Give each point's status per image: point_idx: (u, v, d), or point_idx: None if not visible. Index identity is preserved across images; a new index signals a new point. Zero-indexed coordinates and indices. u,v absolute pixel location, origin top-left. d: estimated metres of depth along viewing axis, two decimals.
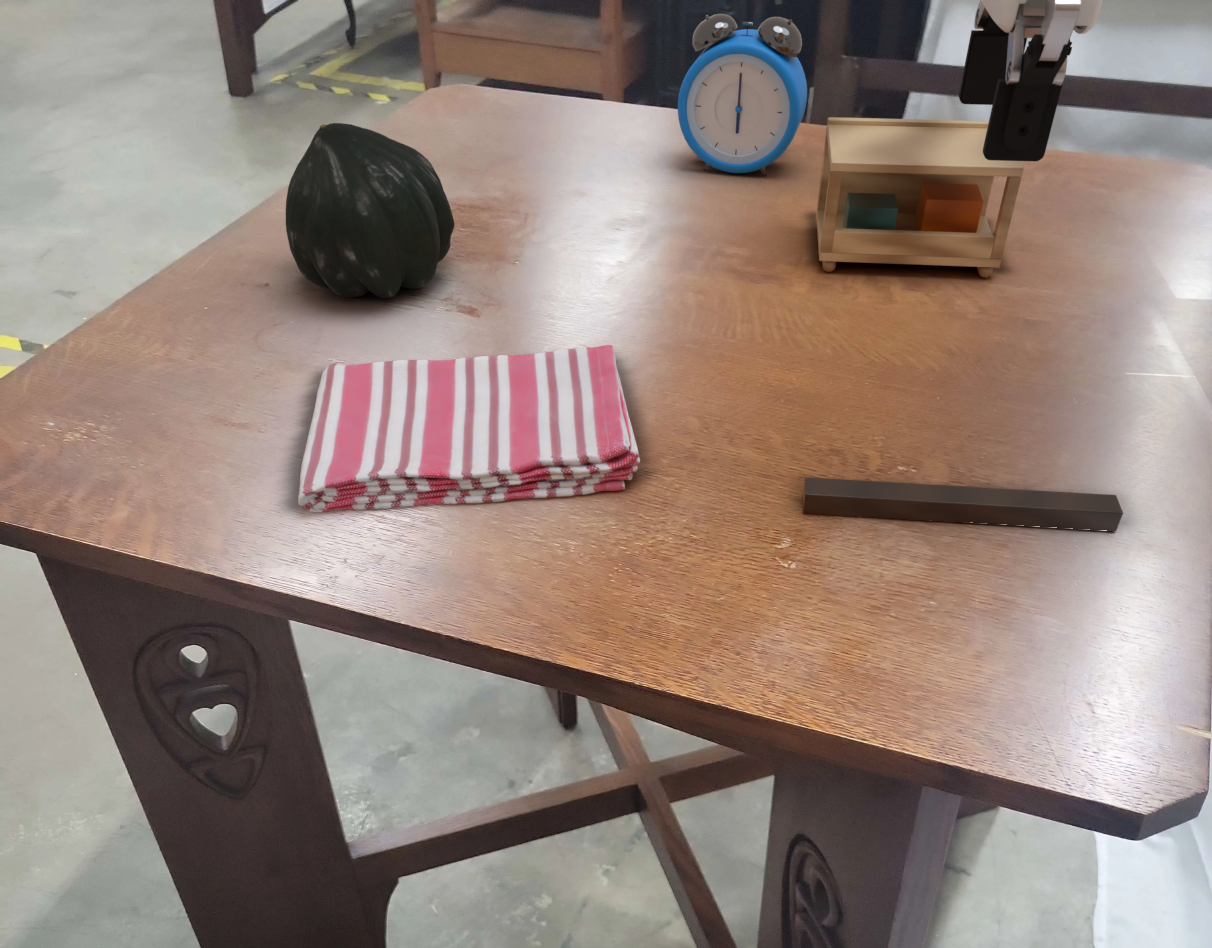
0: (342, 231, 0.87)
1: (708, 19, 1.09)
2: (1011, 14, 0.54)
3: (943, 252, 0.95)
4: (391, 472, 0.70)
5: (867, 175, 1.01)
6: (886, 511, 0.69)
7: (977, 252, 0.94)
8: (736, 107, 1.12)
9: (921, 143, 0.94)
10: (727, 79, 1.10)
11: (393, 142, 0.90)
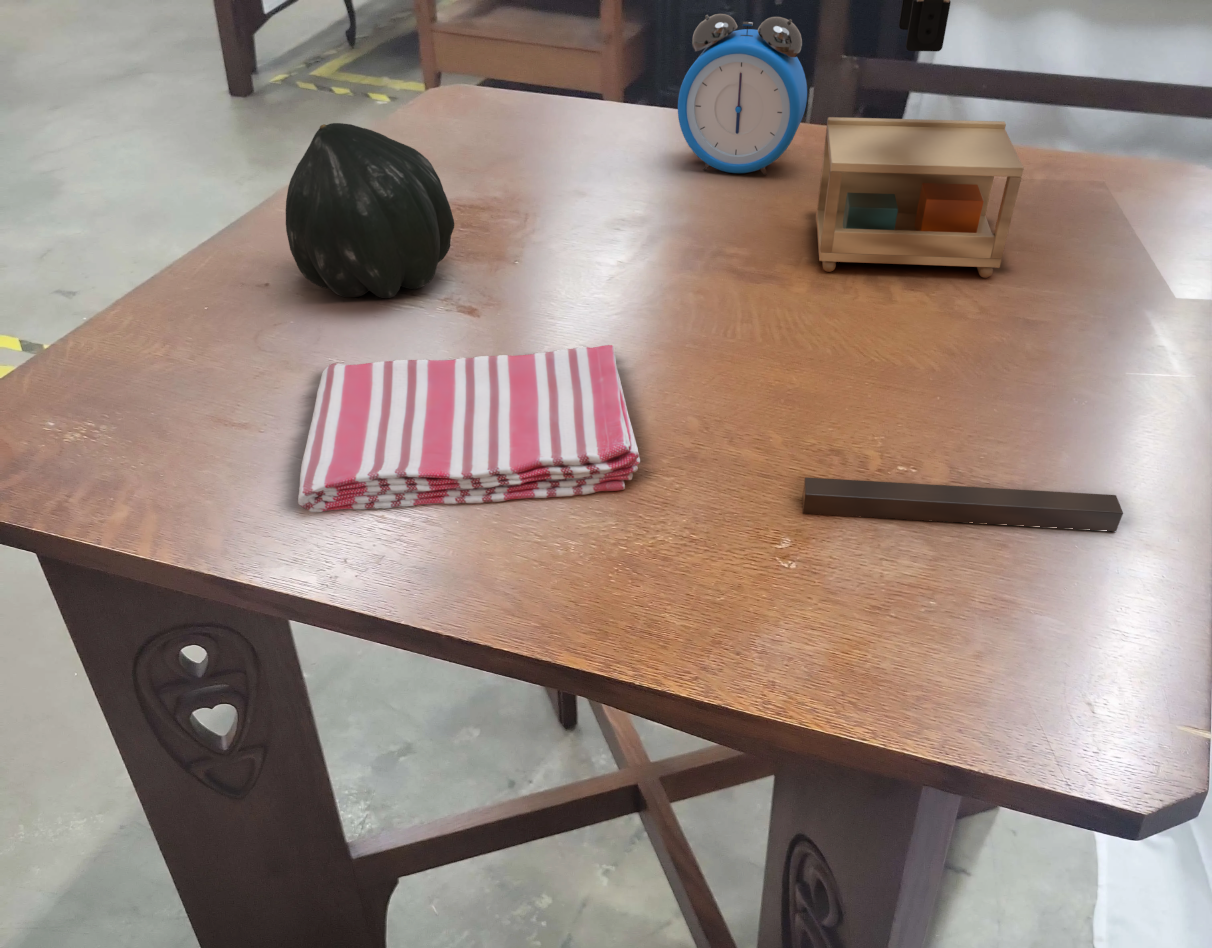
0: (342, 231, 0.87)
1: (708, 19, 1.09)
2: None
3: (943, 252, 0.95)
4: (391, 472, 0.70)
5: (867, 175, 1.01)
6: (886, 511, 0.69)
7: (977, 252, 0.94)
8: (736, 107, 1.12)
9: (921, 143, 0.94)
10: (727, 79, 1.10)
11: (393, 142, 0.90)
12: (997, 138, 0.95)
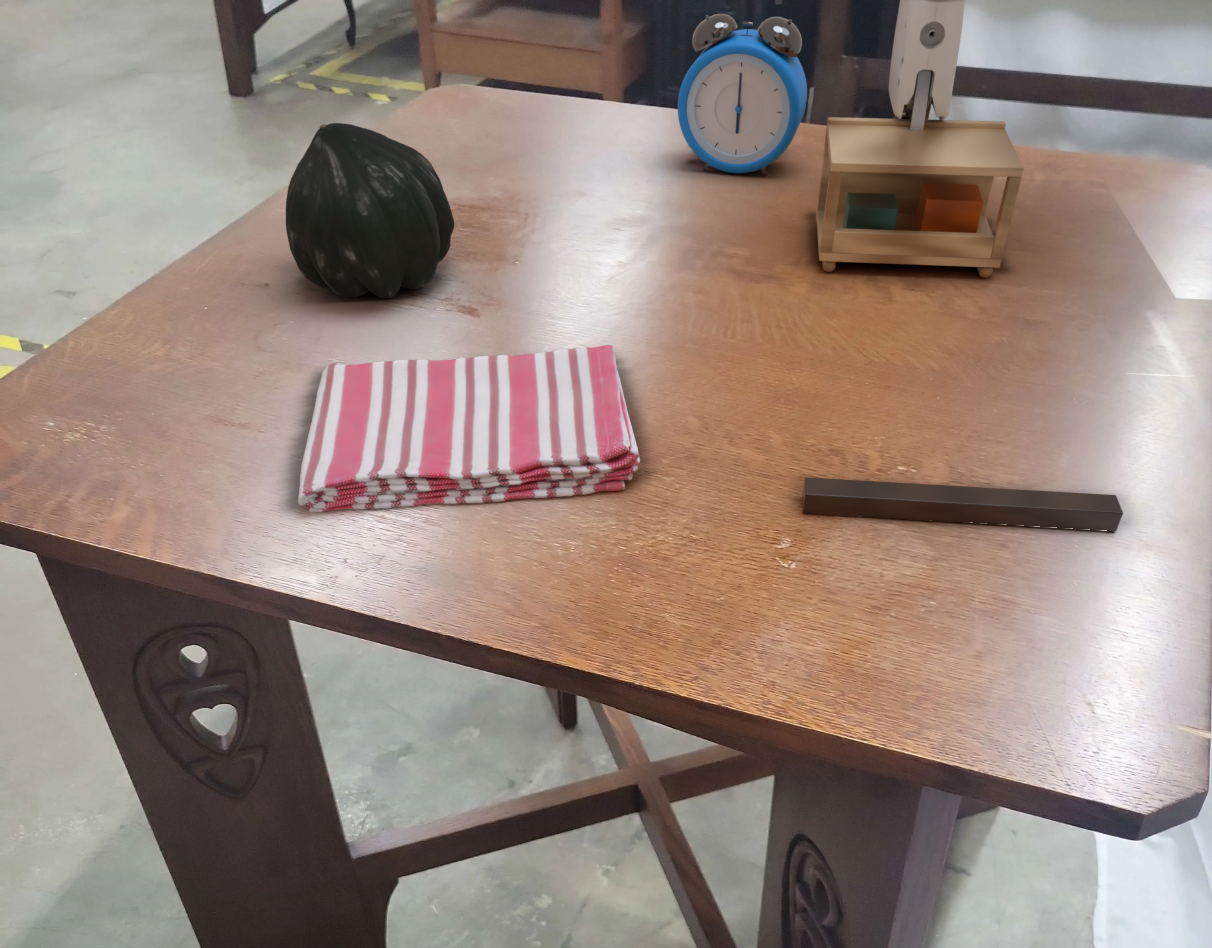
0: (342, 231, 0.87)
1: (708, 19, 1.09)
2: (900, 110, 0.96)
3: (943, 252, 0.95)
4: (391, 472, 0.70)
5: (867, 175, 1.01)
6: (886, 511, 0.69)
7: (977, 252, 0.94)
8: (736, 107, 1.12)
9: (921, 143, 0.94)
10: (727, 79, 1.10)
11: (393, 142, 0.90)
12: (997, 138, 0.95)
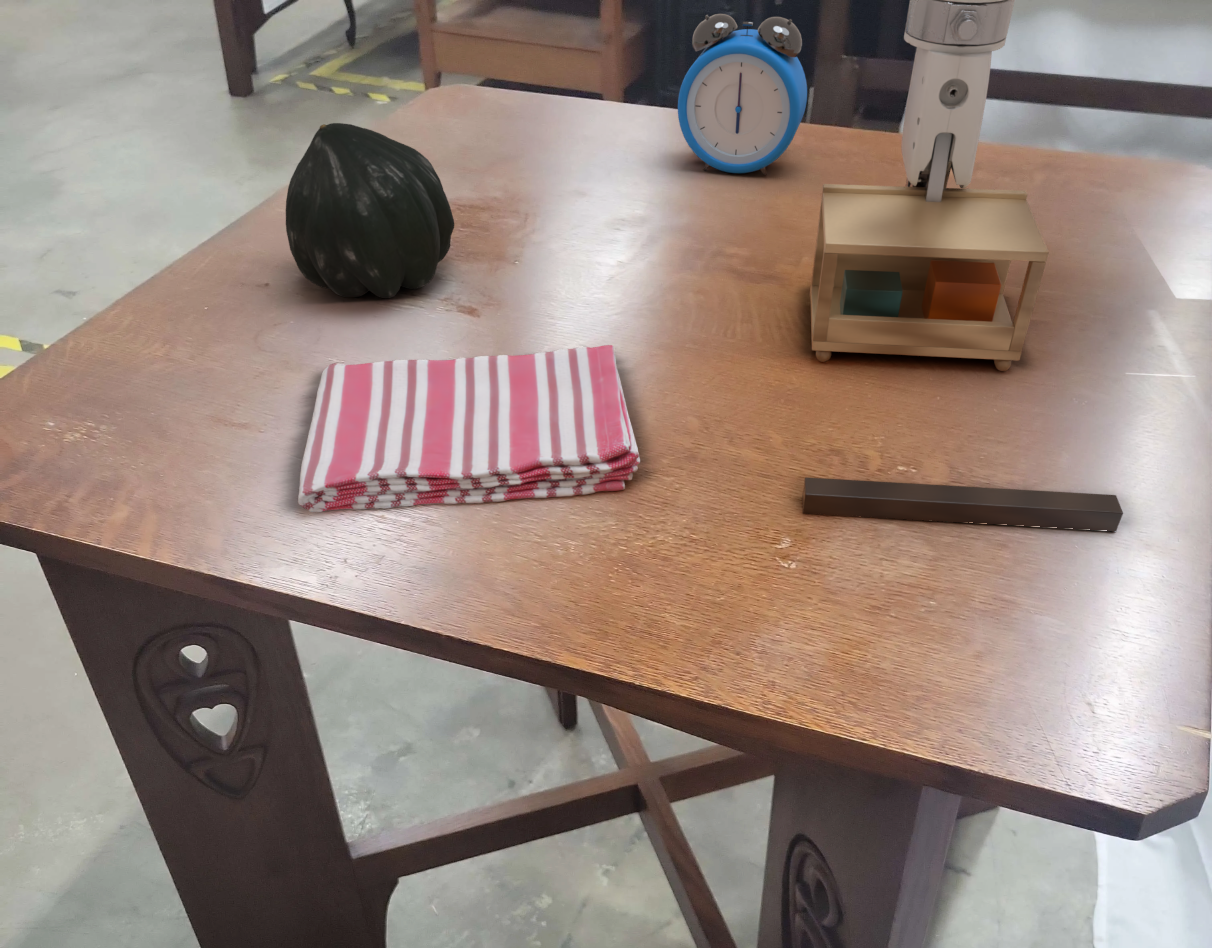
0: (342, 231, 0.87)
1: (708, 19, 1.09)
2: (915, 176, 0.83)
3: (954, 343, 0.82)
4: (391, 472, 0.70)
5: None
6: (886, 511, 0.69)
7: (994, 344, 0.82)
8: (736, 107, 1.12)
9: (929, 218, 0.81)
10: (727, 79, 1.10)
11: (393, 142, 0.90)
12: (1018, 211, 0.82)
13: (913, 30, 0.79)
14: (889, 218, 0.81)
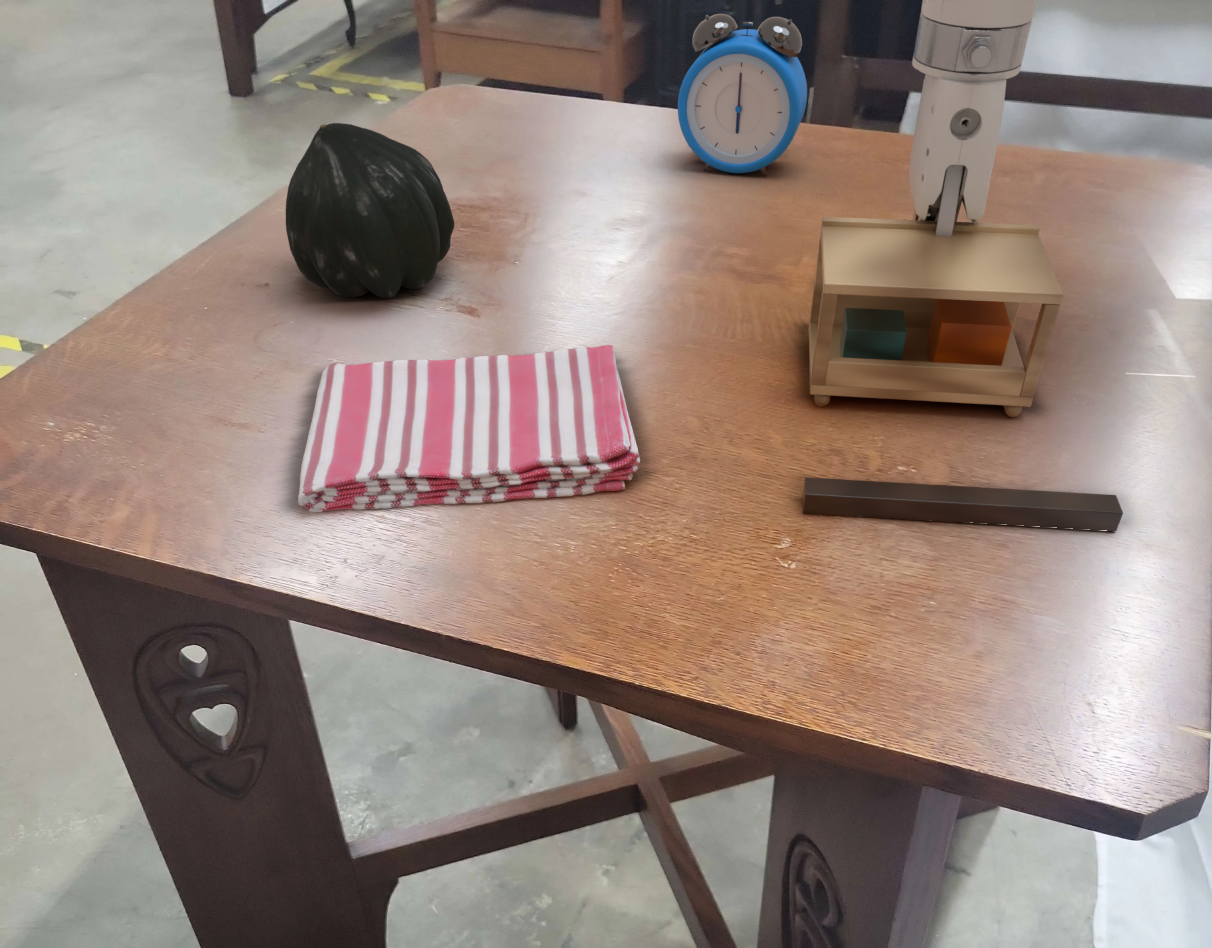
0: (342, 231, 0.87)
1: (708, 19, 1.09)
2: (924, 210, 0.78)
3: (961, 388, 0.77)
4: (391, 472, 0.70)
5: None
6: (886, 511, 0.69)
7: (1004, 389, 0.77)
8: (736, 107, 1.12)
9: (935, 255, 0.76)
10: (727, 79, 1.10)
11: (393, 142, 0.90)
12: (1029, 248, 0.77)
13: (922, 56, 0.74)
14: (892, 255, 0.76)
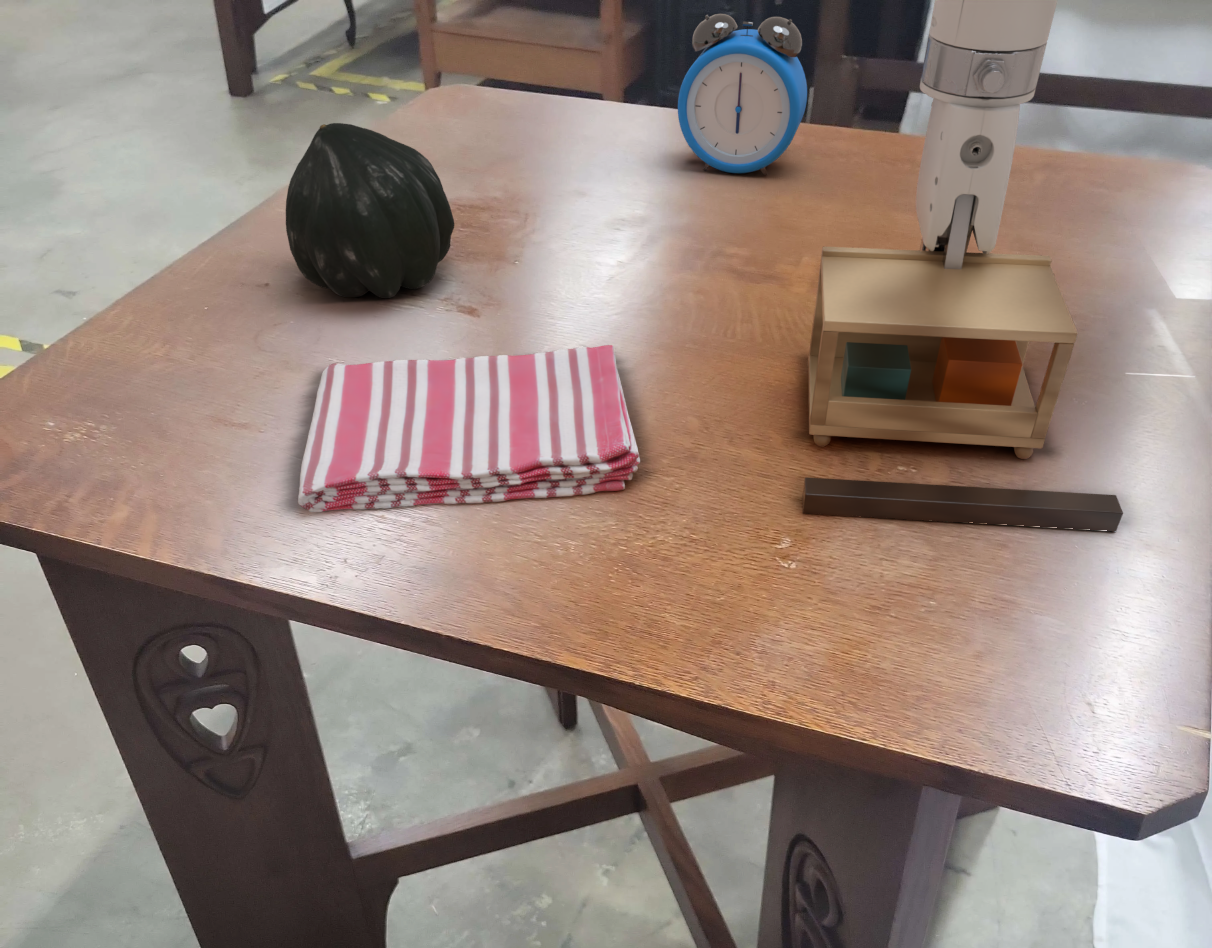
0: (342, 231, 0.87)
1: (708, 19, 1.09)
2: (932, 241, 0.74)
3: (969, 429, 0.73)
4: (391, 472, 0.70)
5: None
6: (886, 511, 0.69)
7: (1014, 430, 0.73)
8: (736, 107, 1.12)
9: (942, 289, 0.72)
10: (727, 79, 1.10)
11: (393, 142, 0.90)
12: (1041, 281, 0.73)
13: (930, 80, 0.70)
14: (896, 289, 0.72)
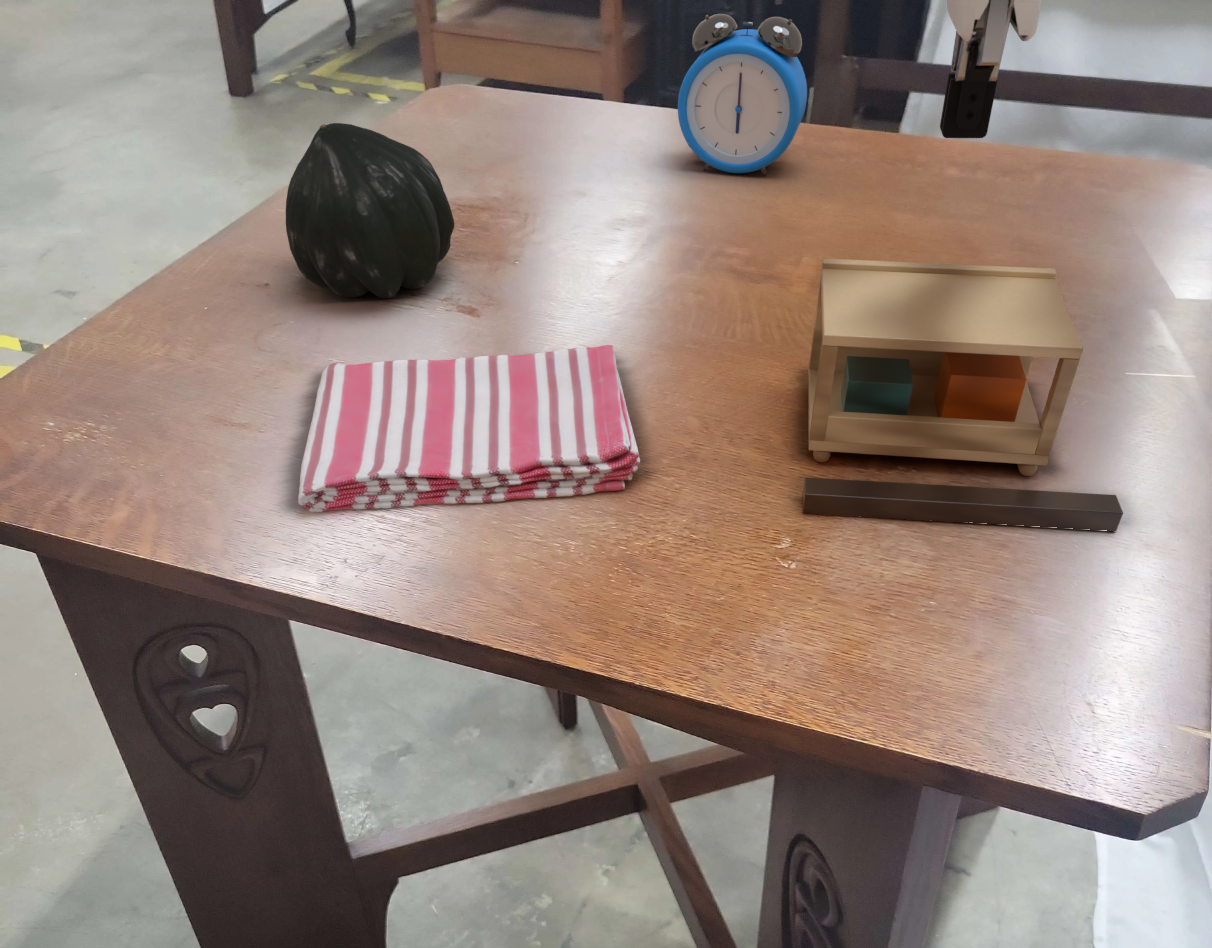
0: (342, 231, 0.87)
1: (708, 19, 1.09)
2: (969, 27, 0.70)
3: (972, 446, 0.72)
4: (391, 472, 0.70)
5: None
6: (886, 511, 0.69)
7: (1018, 447, 0.71)
8: (736, 107, 1.12)
9: (944, 302, 0.71)
10: (727, 79, 1.10)
11: (393, 142, 0.90)
12: (1045, 295, 0.71)
13: None
14: (898, 302, 0.71)
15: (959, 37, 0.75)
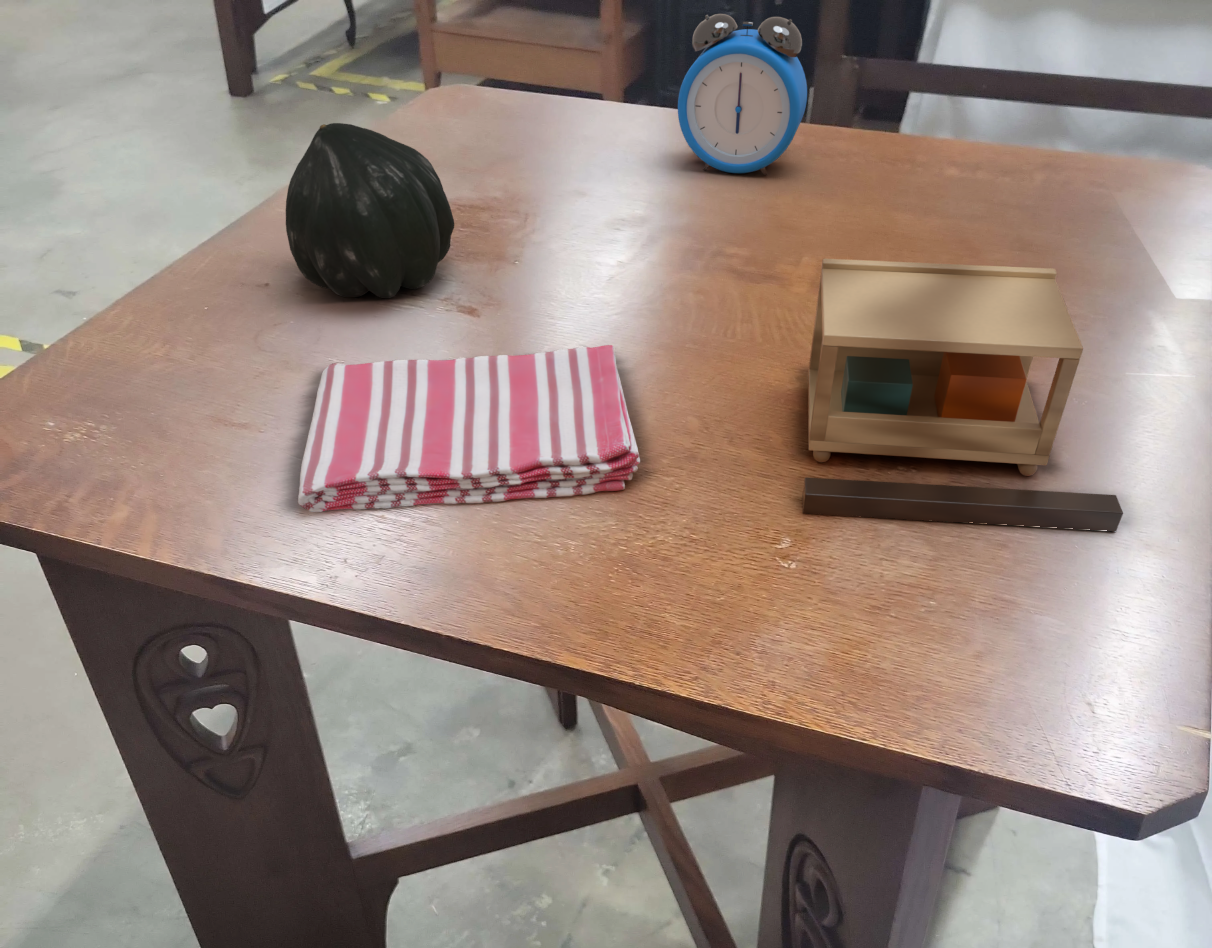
0: (342, 231, 0.87)
1: (708, 19, 1.09)
2: None
3: (972, 446, 0.72)
4: (391, 472, 0.70)
5: None
6: (886, 511, 0.69)
7: (1018, 447, 0.71)
8: (736, 107, 1.12)
9: (944, 302, 0.71)
10: (727, 79, 1.10)
11: (393, 142, 0.90)
12: (1045, 295, 0.71)
13: None
14: (898, 302, 0.71)
15: None
